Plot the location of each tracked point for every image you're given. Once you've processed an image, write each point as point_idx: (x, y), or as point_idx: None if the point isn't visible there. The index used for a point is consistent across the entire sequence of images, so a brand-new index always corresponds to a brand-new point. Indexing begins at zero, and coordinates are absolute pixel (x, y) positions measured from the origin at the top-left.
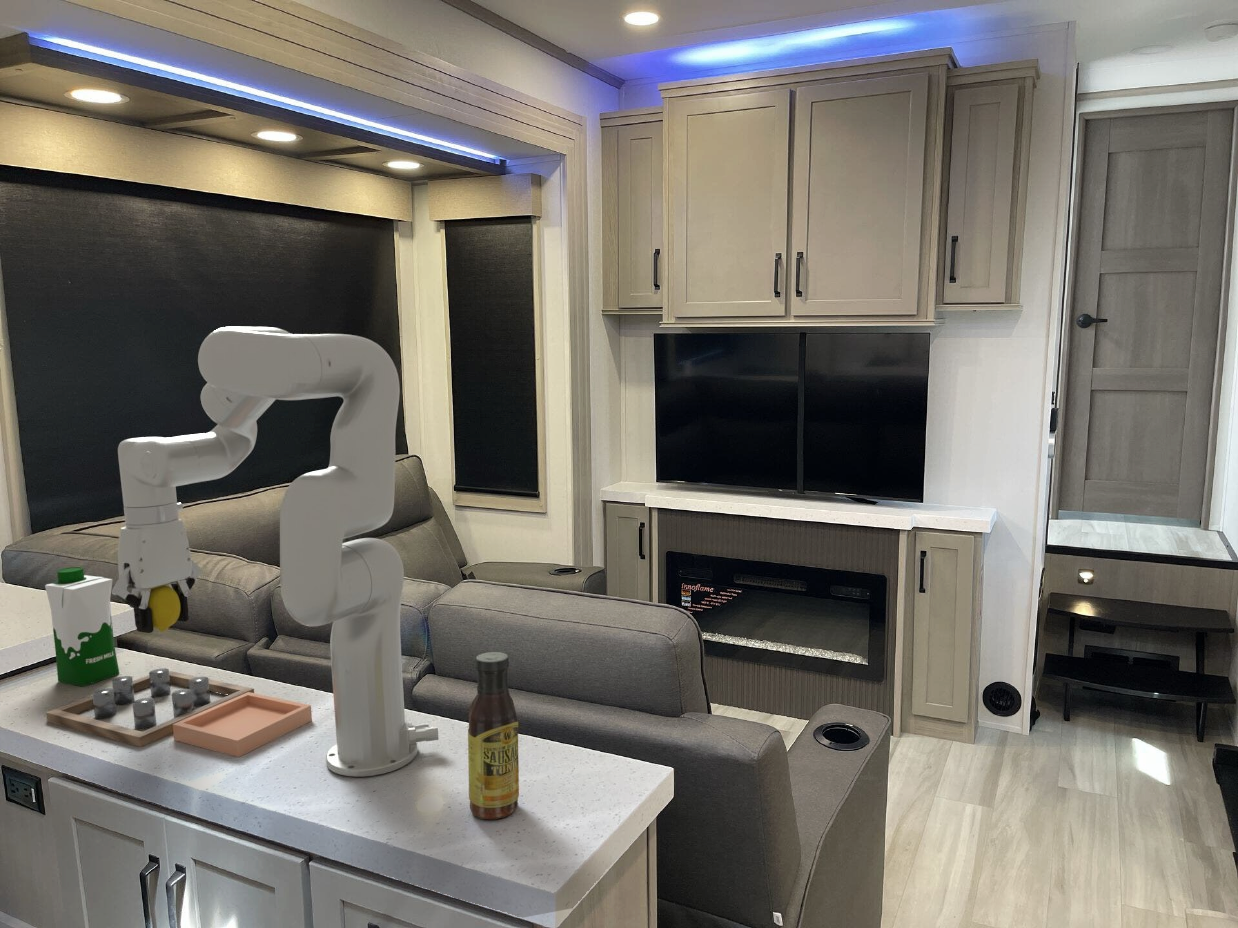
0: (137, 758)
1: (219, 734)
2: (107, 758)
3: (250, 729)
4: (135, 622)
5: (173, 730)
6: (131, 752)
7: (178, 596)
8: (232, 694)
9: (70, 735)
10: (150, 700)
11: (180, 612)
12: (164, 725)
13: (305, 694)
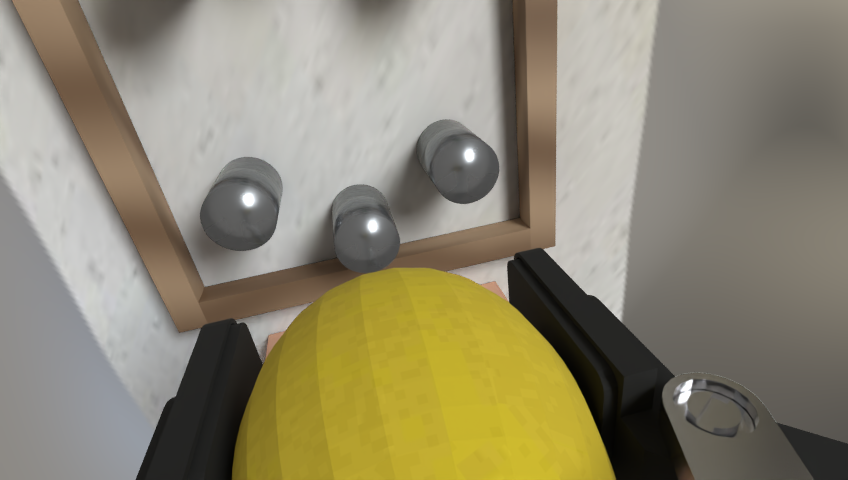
0: (159, 368)
1: None
2: (92, 320)
3: None
4: (160, 425)
5: (267, 352)
6: (157, 328)
7: (622, 475)
8: (499, 239)
9: (6, 46)
10: (261, 230)
11: None
12: (263, 305)
13: None
